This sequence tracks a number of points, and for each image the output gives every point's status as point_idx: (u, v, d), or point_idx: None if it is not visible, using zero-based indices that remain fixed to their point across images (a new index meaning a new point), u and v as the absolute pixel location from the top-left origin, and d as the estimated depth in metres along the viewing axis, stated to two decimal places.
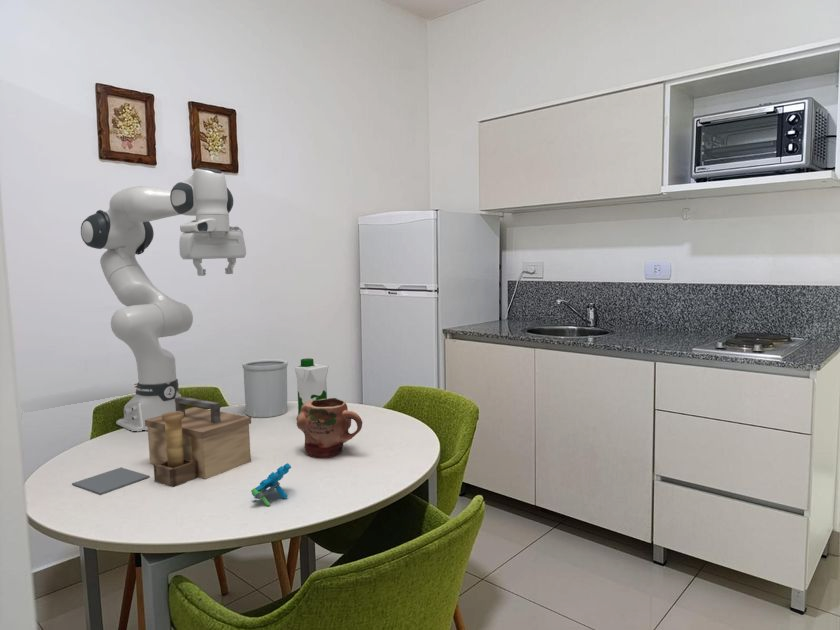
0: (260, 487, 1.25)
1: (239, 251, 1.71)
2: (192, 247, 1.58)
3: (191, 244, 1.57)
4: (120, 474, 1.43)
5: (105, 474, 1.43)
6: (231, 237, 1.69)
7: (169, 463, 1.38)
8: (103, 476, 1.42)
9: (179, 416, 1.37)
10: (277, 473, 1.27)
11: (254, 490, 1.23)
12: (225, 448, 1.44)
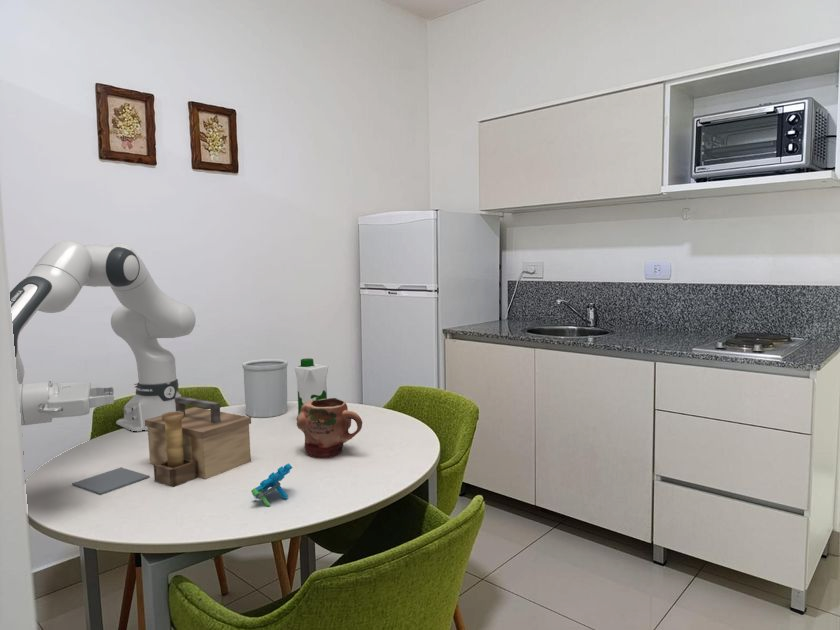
0: (260, 487, 1.24)
1: None
2: None
3: None
4: (120, 474, 1.43)
5: (105, 474, 1.43)
6: None
7: (169, 463, 1.38)
8: (103, 476, 1.42)
9: (179, 416, 1.37)
10: (277, 473, 1.26)
11: (254, 490, 1.23)
12: (225, 448, 1.44)
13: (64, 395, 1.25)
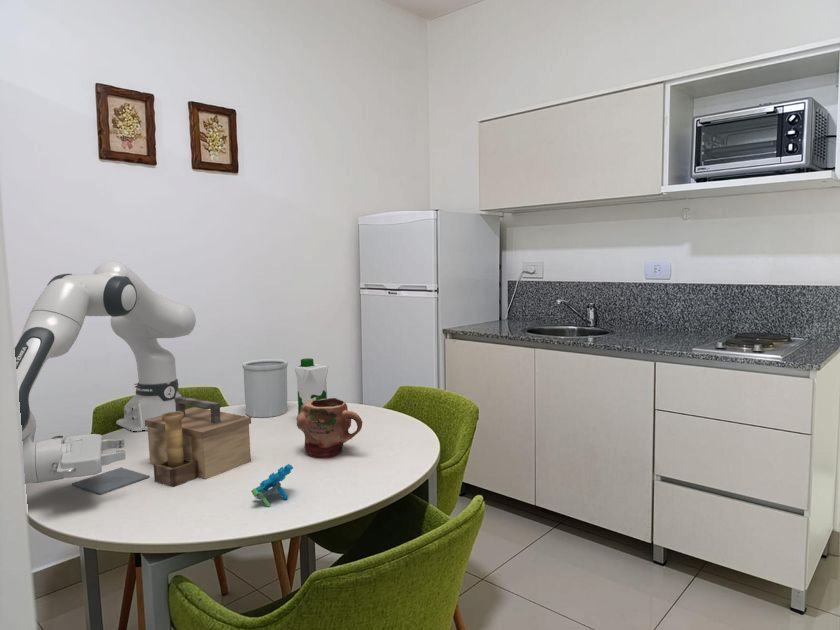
0: (260, 487, 1.24)
1: None
2: None
3: None
4: (120, 474, 1.43)
5: (105, 474, 1.43)
6: None
7: (169, 463, 1.38)
8: (103, 476, 1.42)
9: (179, 416, 1.37)
10: (278, 474, 1.26)
11: (254, 490, 1.23)
12: (225, 448, 1.44)
13: (76, 452, 1.27)
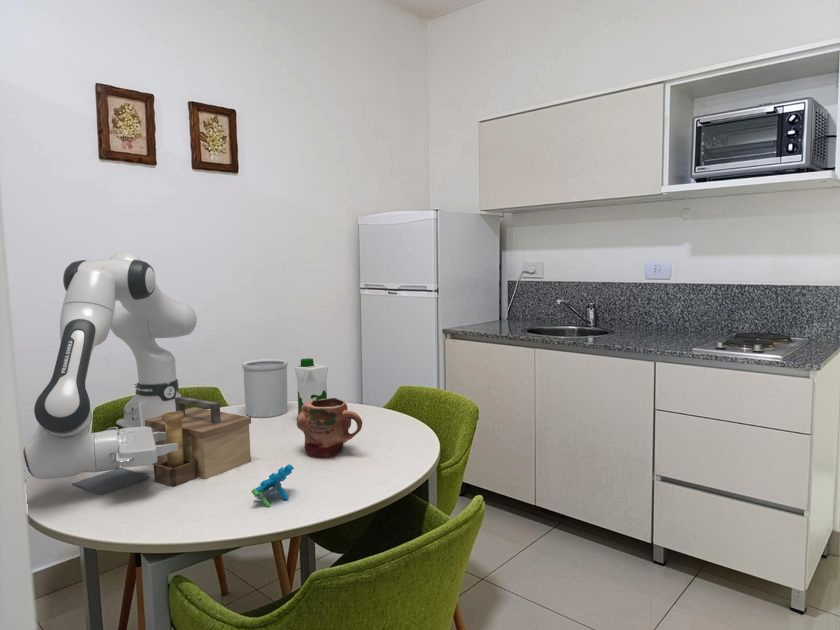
0: (261, 487, 1.24)
1: None
2: None
3: None
4: (120, 474, 1.43)
5: (105, 474, 1.43)
6: None
7: (169, 463, 1.38)
8: (103, 476, 1.42)
9: (179, 416, 1.37)
10: (278, 474, 1.26)
11: (254, 490, 1.23)
12: (225, 448, 1.44)
13: (132, 443, 1.32)
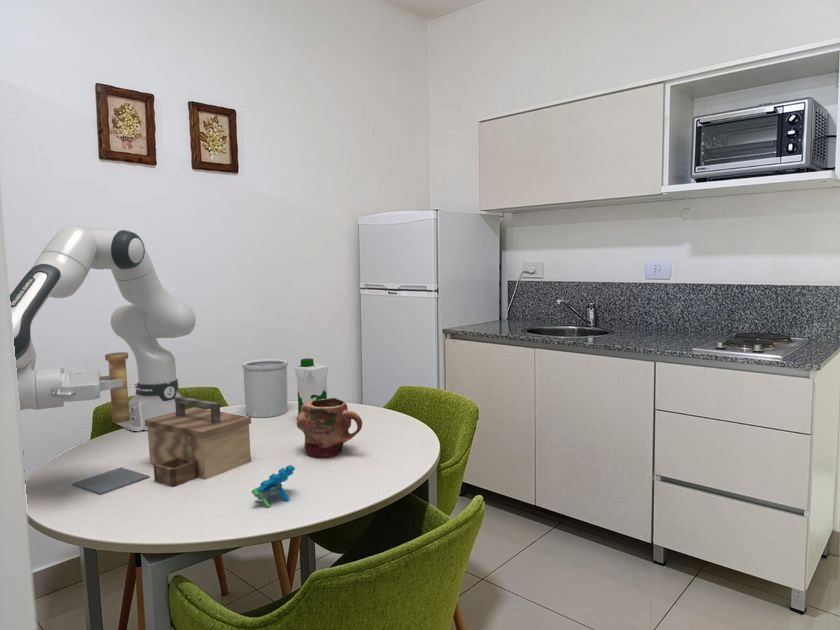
0: (261, 488, 1.24)
1: None
2: None
3: None
4: (120, 474, 1.43)
5: (105, 474, 1.43)
6: None
7: (113, 403, 1.36)
8: (103, 476, 1.42)
9: (122, 355, 1.36)
10: (279, 474, 1.26)
11: (254, 491, 1.22)
12: (225, 448, 1.44)
13: (75, 381, 1.31)
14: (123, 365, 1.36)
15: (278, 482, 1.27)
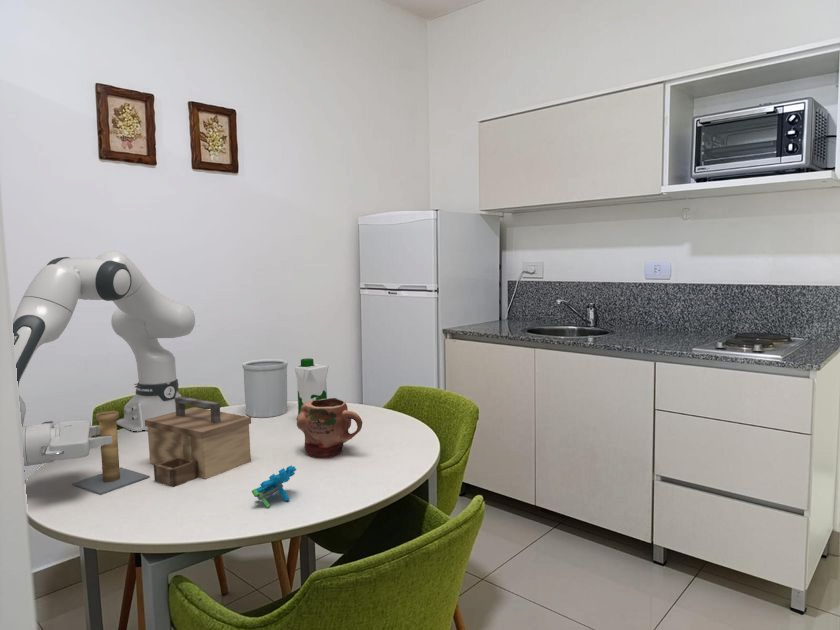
0: (261, 488, 1.24)
1: None
2: None
3: None
4: (120, 474, 1.43)
5: None
6: None
7: (103, 463, 1.38)
8: None
9: (113, 415, 1.37)
10: (279, 475, 1.25)
11: (254, 491, 1.22)
12: (225, 448, 1.44)
13: (65, 437, 1.32)
14: (114, 425, 1.38)
15: (279, 483, 1.26)
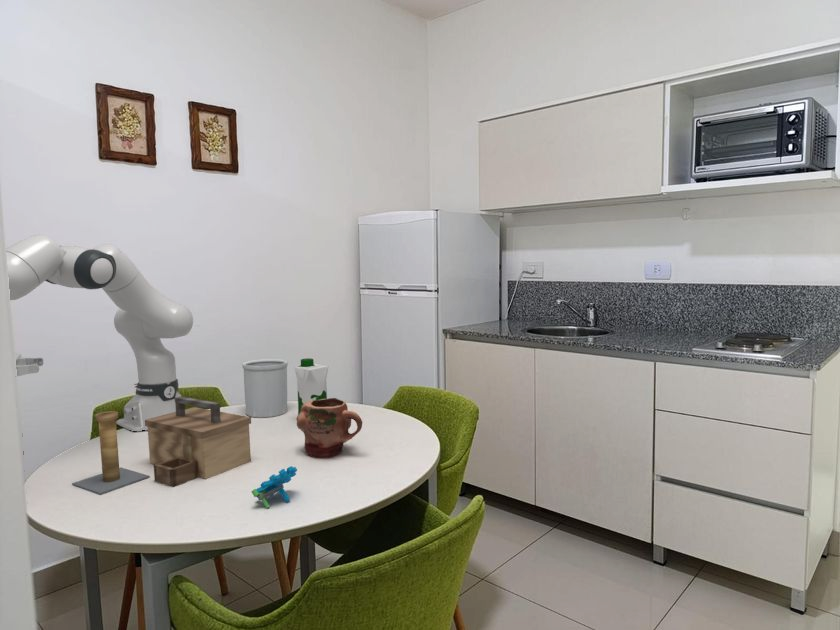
0: (262, 488, 1.24)
1: None
2: None
3: None
4: (120, 474, 1.43)
5: None
6: None
7: (103, 463, 1.38)
8: None
9: (112, 416, 1.37)
10: (280, 476, 1.25)
11: (254, 491, 1.22)
12: (225, 448, 1.44)
13: None
14: (113, 425, 1.38)
15: (279, 483, 1.26)
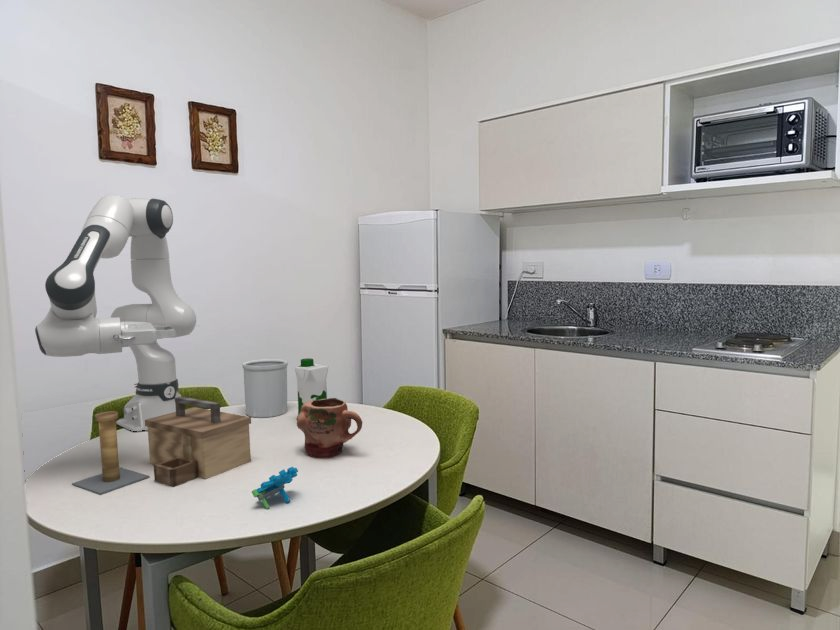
0: (262, 489, 1.24)
1: None
2: None
3: None
4: (120, 474, 1.43)
5: None
6: None
7: (103, 463, 1.38)
8: None
9: (112, 416, 1.37)
10: (280, 476, 1.25)
11: (254, 491, 1.22)
12: (225, 448, 1.44)
13: (133, 328, 1.45)
14: (113, 425, 1.38)
15: (280, 484, 1.26)
